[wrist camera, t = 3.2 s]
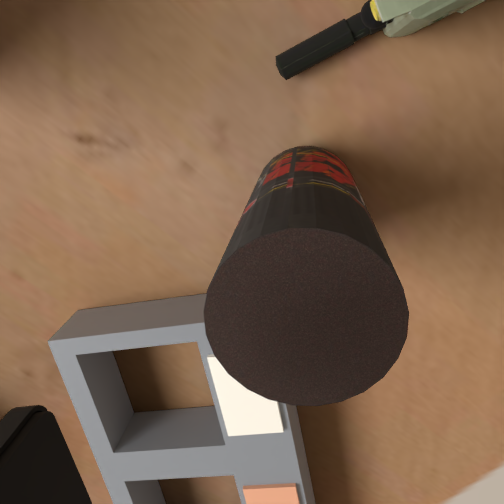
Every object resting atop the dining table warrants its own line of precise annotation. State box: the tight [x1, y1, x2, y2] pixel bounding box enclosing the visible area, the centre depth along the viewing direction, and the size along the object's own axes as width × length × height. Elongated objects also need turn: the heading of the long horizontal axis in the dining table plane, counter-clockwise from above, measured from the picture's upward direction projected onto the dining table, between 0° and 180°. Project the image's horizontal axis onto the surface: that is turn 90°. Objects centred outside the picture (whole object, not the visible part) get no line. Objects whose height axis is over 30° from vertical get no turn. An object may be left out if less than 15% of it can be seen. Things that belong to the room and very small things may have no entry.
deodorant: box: [203, 146, 409, 406], centre depth 20 cm, size 6×6×15 cm
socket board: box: [48, 293, 316, 504], centre depth 32 cm, size 14×21×4 cm, turn 11°
